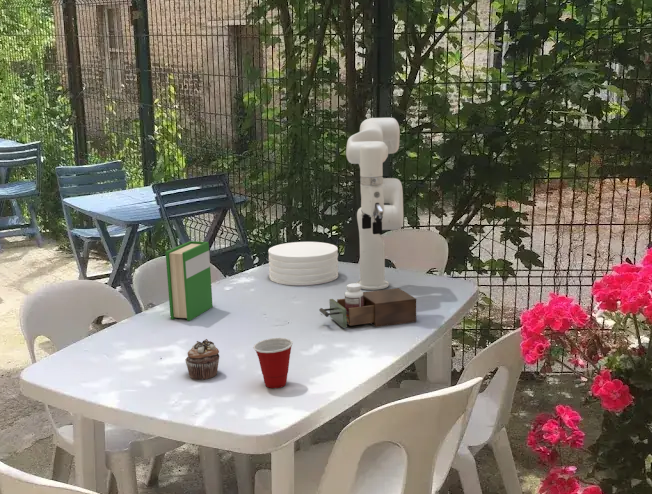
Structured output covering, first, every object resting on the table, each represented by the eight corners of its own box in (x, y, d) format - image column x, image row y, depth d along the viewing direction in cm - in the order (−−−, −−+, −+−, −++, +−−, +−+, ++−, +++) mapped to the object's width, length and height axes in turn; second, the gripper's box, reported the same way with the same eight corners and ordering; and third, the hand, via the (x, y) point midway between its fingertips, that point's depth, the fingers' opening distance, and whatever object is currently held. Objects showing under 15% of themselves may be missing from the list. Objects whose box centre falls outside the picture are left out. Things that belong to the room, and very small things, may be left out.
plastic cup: (254, 378, 240) (252, 337, 237) (292, 376, 241) (291, 335, 238) (255, 393, 230) (253, 350, 227) (295, 390, 231) (294, 348, 227)
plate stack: (258, 282, 342) (256, 254, 339) (285, 266, 367) (284, 240, 364) (323, 287, 331) (323, 258, 328) (347, 270, 356) (347, 243, 353)
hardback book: (189, 320, 295) (184, 252, 288) (170, 319, 297) (165, 251, 291) (212, 306, 311) (208, 242, 304) (194, 305, 313) (190, 241, 307)
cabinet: (375, 327, 282) (375, 303, 280) (359, 315, 295) (359, 292, 293) (416, 322, 286) (416, 298, 284) (398, 310, 299) (398, 288, 297)
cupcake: (206, 366, 251) (203, 333, 248) (227, 374, 244) (225, 340, 242) (179, 375, 245) (177, 341, 242) (200, 383, 238) (198, 349, 235)
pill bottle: (355, 313, 291) (354, 281, 288) (367, 316, 286) (367, 285, 284) (341, 316, 287) (340, 285, 284) (353, 320, 283) (353, 288, 280)
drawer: (329, 329, 278) (328, 311, 276) (316, 318, 290) (315, 300, 288) (381, 323, 283) (381, 304, 281) (366, 312, 295) (366, 294, 294)
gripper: (391, 183, 282) (392, 234, 286) (372, 177, 298) (372, 225, 302) (370, 185, 280) (371, 236, 284) (352, 178, 296) (352, 227, 300)
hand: (371, 231), depth 293 cm, fingers open, 9 cm apart
